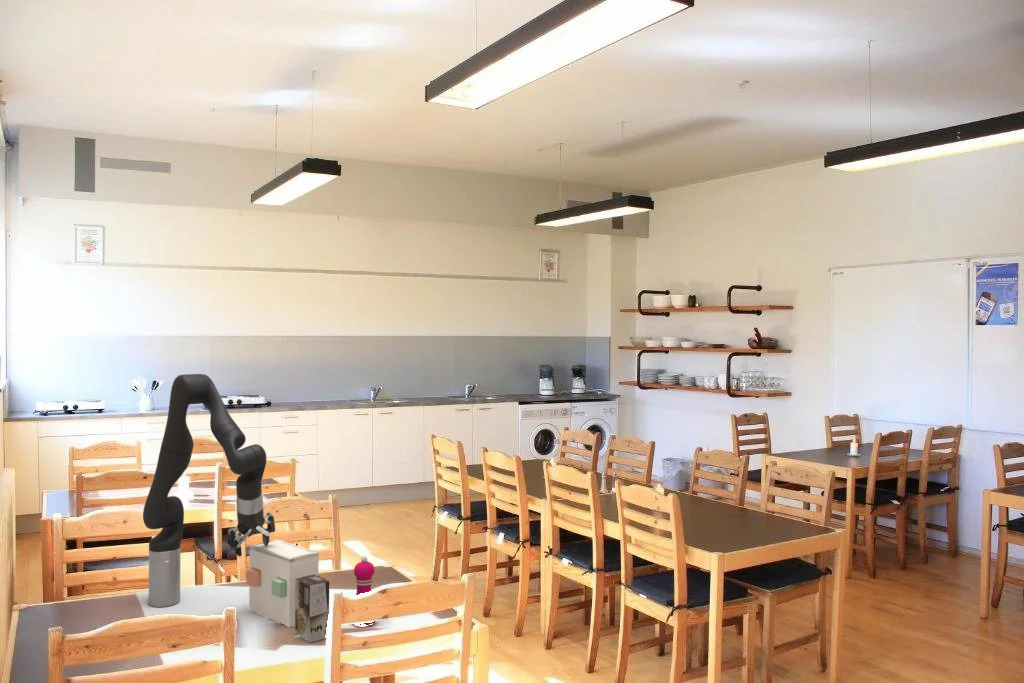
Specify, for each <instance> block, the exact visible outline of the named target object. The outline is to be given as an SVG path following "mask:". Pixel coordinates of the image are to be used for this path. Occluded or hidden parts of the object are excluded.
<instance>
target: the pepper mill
mask: <svg viewBox="0 0 1024 683" xmlns="http://www.w3.org/2000/svg"><path fill="white" fill-rule="evenodd" d="M360 559H361V560H360V562H358V563H356V564H355V565H354V569H353V575H354V576H355V577H356V578H355V585H356V592H355V593H356V594H355V596H356V595H358V594H360V593H365V592H369V591H371V592H372V584H373V582H374V581H373V575H374V574H375V567H374V564H373V563H372V562H370V561H368V557H366V556H362V557H361V558H360ZM372 623H374V624H375V621H374V622H372ZM372 623H364V624H366V625H369V624H372ZM360 625H361V624H360Z"/></svg>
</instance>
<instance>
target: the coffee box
mask: <svg viewBox="0 0 1024 683" xmlns="http://www.w3.org/2000/svg"><path fill="white" fill-rule="evenodd" d="M330 582H331V581H329V579H326V578H323V577H321V576H320V575H318V576H317V575H315V574H314V575H309V576H305V577H301V578H296V579H295V626H294V628H295V630H294V633H295V635H296V634H297V636H298V635H299V636H298V637H300V638H301V637H302V638H301V639H303V640H304V641H306V642H308V643H314V642H317V641H318V642H319V641H320V640H321V639H322V640H326V639H325V635H326V627H327V620H328V614H329V615H330ZM313 641H314V642H313Z"/></svg>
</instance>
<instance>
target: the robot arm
mask: <svg viewBox="0 0 1024 683" xmlns="http://www.w3.org/2000/svg"><path fill="white" fill-rule="evenodd" d="M170 389H171V390H170V397H169V404H168V413H167V419H166V420H167V421H166V422H165V423H166V424H165V429H164V434H163V437H162V440H161V445H160V449H159V454H158V458H157V463H156V468H155V472H154V476H153V479H152V483H151V486H150V488H149V492H148V494H147V496H146V500H145V503H144V506H143V510H142V511H143V512H142V519H143V520H142V522H143V524H144V526H145V527H146V528H148V529H149V530H160V529H161V530H160V531H159V532H158V534H157V535H156V536H154V537H153V538H151V539H150V540H149V542H148V605H149V606H151V607H152V608H153V607H155V608H164V607H165V608H166V607H170V606H174V605H176V604H177V605H178V604H179V603H180V602H181V543H182V540H183V536H184V534H183V533H184V521H185V518H184V516H185V509H184V504H183V502H182V500H181V499H180V497H178V496H175V495H173V496H172V495H171V496H169V493H170V492H171V489H172V488H173V486H174V485H175V484H176V482H177V481H178V480H179V479H180V478H181V476H182V475H183V474H184V473H185V472H186V470H187V469H188V467H189V465H190V462H191V458H192V456H193V450H194V440H193V436H192V433H191V432H190V429H189V427H188V424H187V413H188V409H189V406H190V405H199V404H200V405H201V404H202V405H203V406H205V408H206V409H207V410H208V411H209V413H210V420H209V422H210V423H209V424H210V426H209V427H210V431H211V432H212V435H213V437H214V438H215V440H217V443H219V445H220V446H221V447H222V449H223V452H224V454H225V457H226V460H227V464H228V467H229V470H230V471H231V472H232V473H233V474H235V475H239V476H238V477H237V478H236V483H235V484H236V485H235V487H236V488H235V489H236V500H235V502H236V513H237V514H236V515H237V516H236V518H237V525H236V527H233V528H232V527H228V528H227V532H226V535H227V536H226V538H227V540H226V541H227V546H229V547H230V548H231V549H233V551H234V553H235V555H236V556H238V557H239V558H240V557H242V555H243V553H242V544H243V543H244V542H245V541H246V539H247V538H250V537H252V536H253V535H257V534H258V533H259V532H260V533H261V534H262V543H263V544H264V545H265V546H267V545H268V543H269V541H270V535H271V533H275V532H276V525H275V517H274V516H273V515H272V514H271V512H267V513H266V515H264V498H263V492H262V491H263V490H262V481H263V480H262V479H263V477H264V472H265V469H266V465H267V453H266V451H265V449H264V447H263V446H262V445H260V444H258V443H257V444H255V443H254V444H251V445H248V446H246V447H243V446H244V445H245V443H246V440H247V438H246V435H245V434H244V432H243V431H242V429H241V428H240V427H239V426H238V424H237V423H236V422H235V421H234V419H233V417H232V416H231V414H230V413H229V411H228V409H227V407H226V405H225V403H224V401H223V399H222V397H221V395H220V393H219V391H218V389H217V386H216V385H215V383H214V381H213V379H212V378H210V377H209V376H208V375H207V374H204V373H189V374H187V373H185V374H179V375H177V376H176V377H175V378H174V380H173V382H172V386H171V388H170ZM265 522H267V527H266V528H265V527H264V524H265Z"/></svg>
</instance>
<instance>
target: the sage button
mask: <svg viewBox="0 0 1024 683" xmlns="http://www.w3.org/2000/svg"><path fill="white" fill-rule="evenodd" d="M286 594H287V581H286V580H284V579H281V578H276V579H272V595H274V596H276V597H279V598H281V597H285V596H286Z"/></svg>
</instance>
